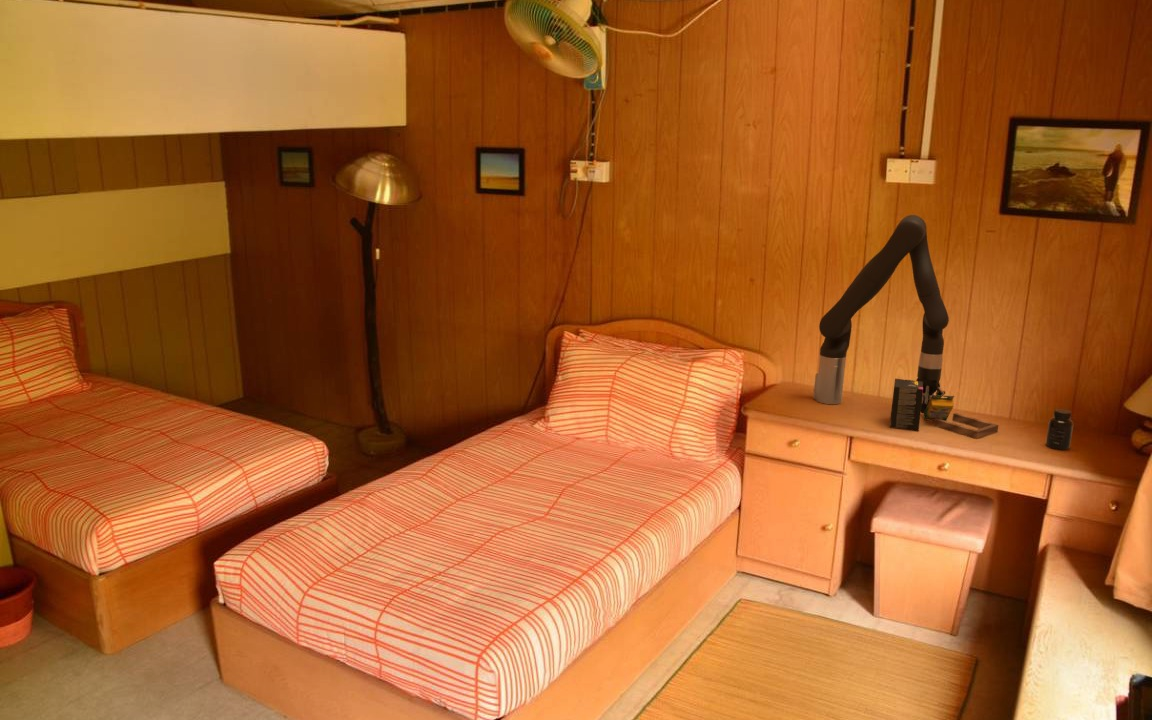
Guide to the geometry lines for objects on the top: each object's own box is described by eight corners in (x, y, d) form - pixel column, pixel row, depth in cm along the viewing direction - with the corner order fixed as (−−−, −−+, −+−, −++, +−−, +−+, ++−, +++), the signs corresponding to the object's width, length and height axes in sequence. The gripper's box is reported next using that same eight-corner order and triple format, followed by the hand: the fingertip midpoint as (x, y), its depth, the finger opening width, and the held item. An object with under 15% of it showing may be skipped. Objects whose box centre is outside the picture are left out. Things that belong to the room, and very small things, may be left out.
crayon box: (924, 420, 315) (933, 401, 306) (923, 413, 317) (931, 394, 308) (946, 421, 315) (955, 403, 305) (945, 414, 316) (954, 395, 307)
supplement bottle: (1048, 441, 297) (1054, 406, 294) (1071, 446, 293) (1077, 410, 290) (1043, 447, 292) (1048, 411, 289) (1066, 452, 288) (1072, 415, 285)
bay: (934, 425, 310) (934, 419, 309) (954, 419, 317) (955, 412, 316) (976, 439, 298) (977, 432, 297) (997, 431, 305) (998, 425, 304)
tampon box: (918, 431, 304) (924, 389, 300) (889, 428, 307) (894, 386, 303) (918, 421, 314) (923, 380, 310) (889, 418, 317) (894, 377, 313)
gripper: (906, 362, 318) (901, 410, 322) (941, 371, 308) (935, 420, 312) (919, 359, 322) (913, 406, 327) (953, 367, 312) (947, 416, 317)
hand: (924, 413), depth 319 cm, fingers closed
